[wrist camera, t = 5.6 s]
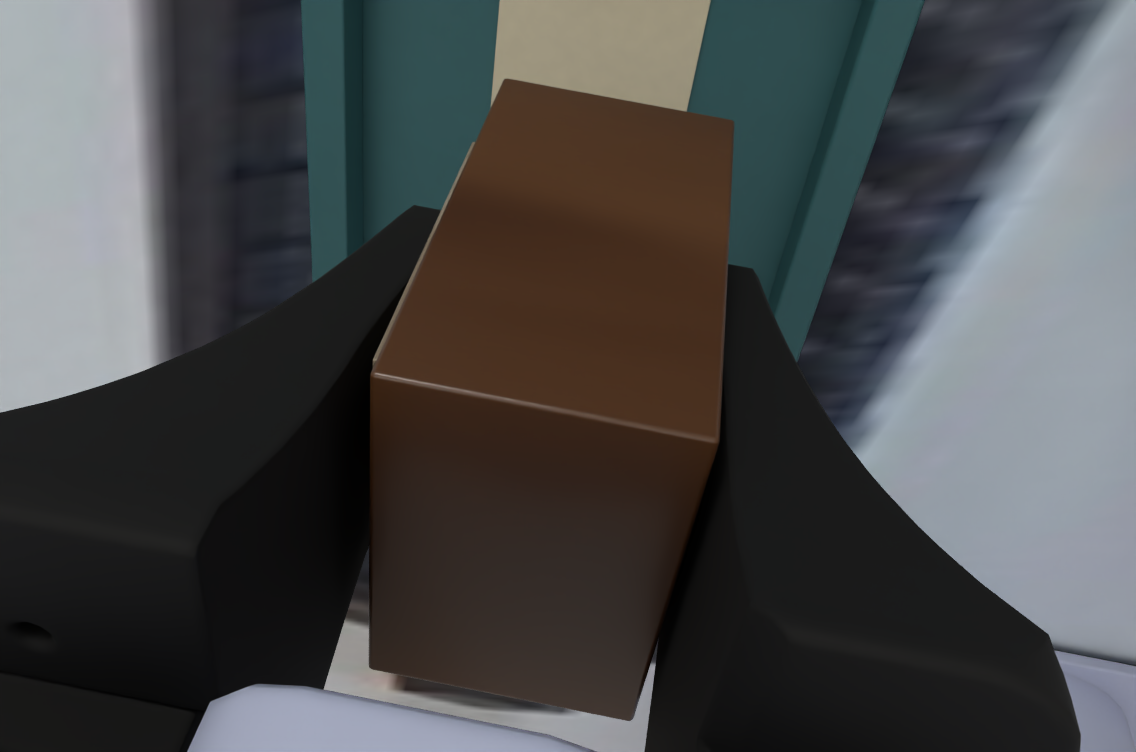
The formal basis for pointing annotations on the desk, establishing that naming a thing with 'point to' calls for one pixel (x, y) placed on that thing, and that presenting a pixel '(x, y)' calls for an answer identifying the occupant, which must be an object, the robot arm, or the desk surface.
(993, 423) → the desk surface
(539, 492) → the chocolate brown cuboid
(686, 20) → the cream flat panel
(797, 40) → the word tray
